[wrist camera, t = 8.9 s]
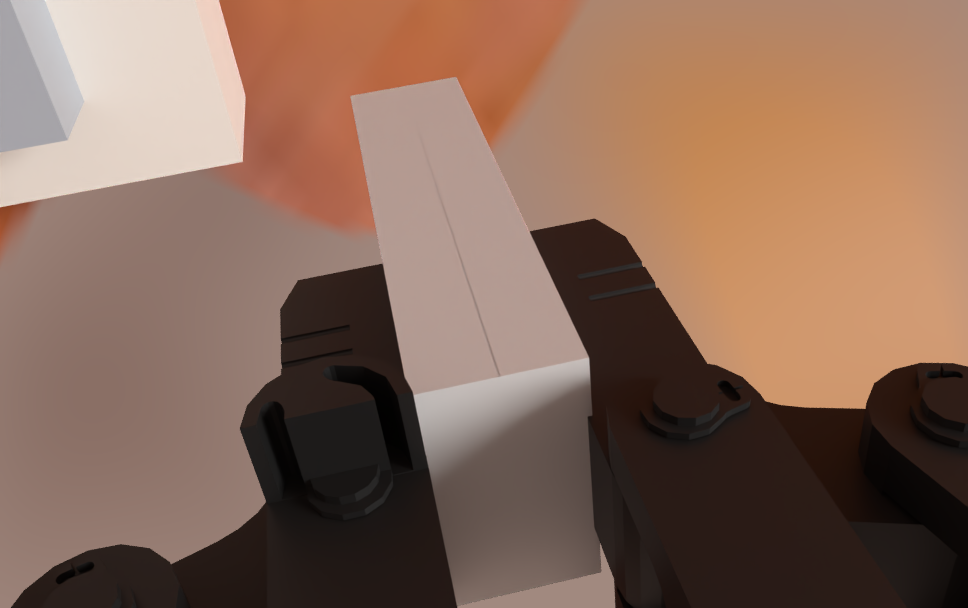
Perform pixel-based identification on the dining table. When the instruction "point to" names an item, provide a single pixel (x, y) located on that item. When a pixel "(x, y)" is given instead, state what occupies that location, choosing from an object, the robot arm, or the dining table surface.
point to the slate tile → (34, 78)
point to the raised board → (137, 98)
